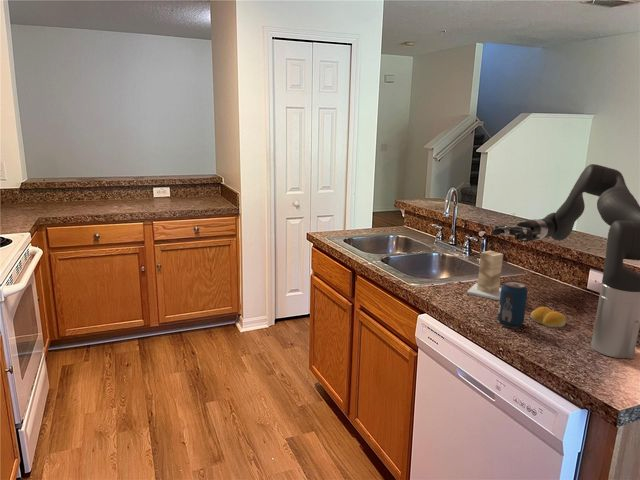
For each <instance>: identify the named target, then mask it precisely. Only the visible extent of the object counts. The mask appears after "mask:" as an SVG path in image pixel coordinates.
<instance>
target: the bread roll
mask: <svg viewBox="0 0 640 480" xmlns="http://www.w3.org/2000/svg"><path fill="white" fill-rule="evenodd" d="M530 317H531V319H532V320H533V322H535V323H537V324H541V325H543V326H545V327H548V328H563V327H565V325H566V322H567V319H566V318H567V317H566V316H565V315H564V314H563V313H561V312H559V311H556V310H555V311H554V310H552V309H551V308H549V307H546V306H540V307H537V308H535V309H534V310H533V311H531V312H530Z"/></svg>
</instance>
